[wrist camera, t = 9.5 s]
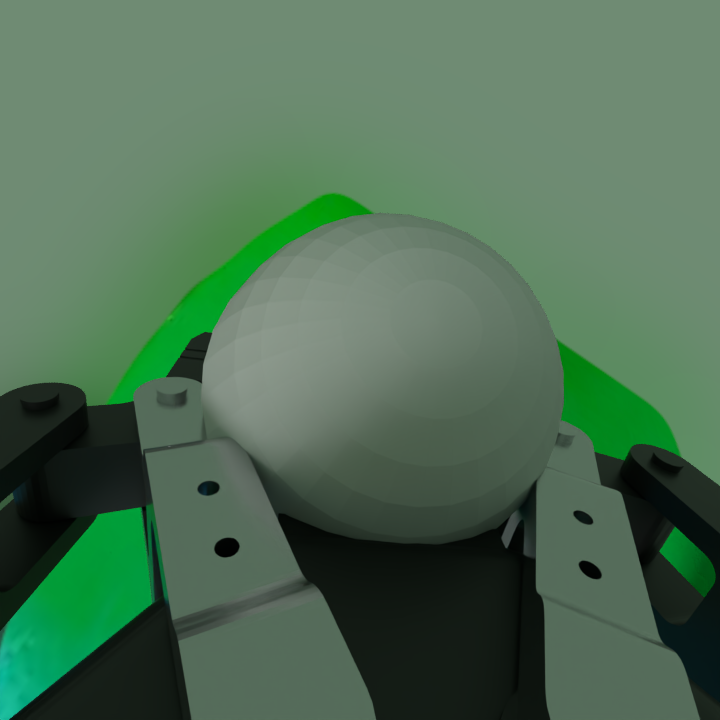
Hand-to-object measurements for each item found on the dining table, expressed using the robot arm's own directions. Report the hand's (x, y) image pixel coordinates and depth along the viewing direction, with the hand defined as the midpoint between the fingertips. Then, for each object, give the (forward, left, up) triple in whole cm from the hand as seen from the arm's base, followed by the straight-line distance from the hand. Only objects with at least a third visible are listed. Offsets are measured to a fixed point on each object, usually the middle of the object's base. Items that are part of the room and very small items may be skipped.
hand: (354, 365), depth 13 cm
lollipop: (+1, +1, -8) cm, 8 cm away
